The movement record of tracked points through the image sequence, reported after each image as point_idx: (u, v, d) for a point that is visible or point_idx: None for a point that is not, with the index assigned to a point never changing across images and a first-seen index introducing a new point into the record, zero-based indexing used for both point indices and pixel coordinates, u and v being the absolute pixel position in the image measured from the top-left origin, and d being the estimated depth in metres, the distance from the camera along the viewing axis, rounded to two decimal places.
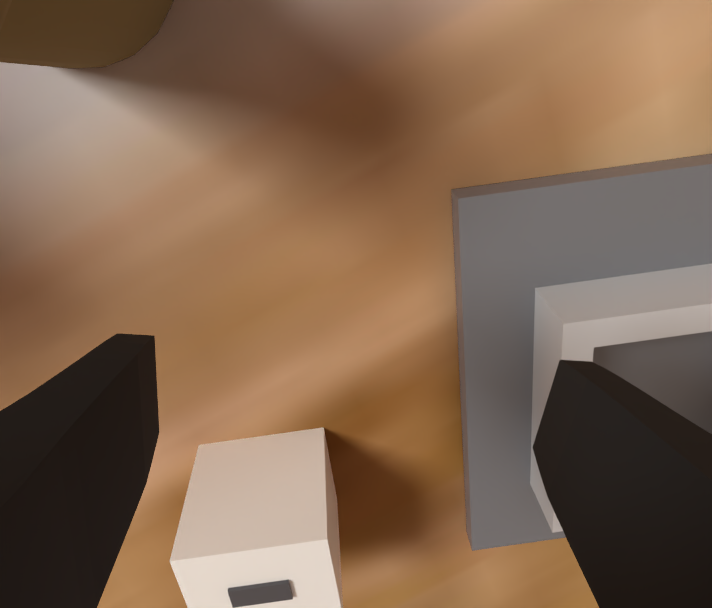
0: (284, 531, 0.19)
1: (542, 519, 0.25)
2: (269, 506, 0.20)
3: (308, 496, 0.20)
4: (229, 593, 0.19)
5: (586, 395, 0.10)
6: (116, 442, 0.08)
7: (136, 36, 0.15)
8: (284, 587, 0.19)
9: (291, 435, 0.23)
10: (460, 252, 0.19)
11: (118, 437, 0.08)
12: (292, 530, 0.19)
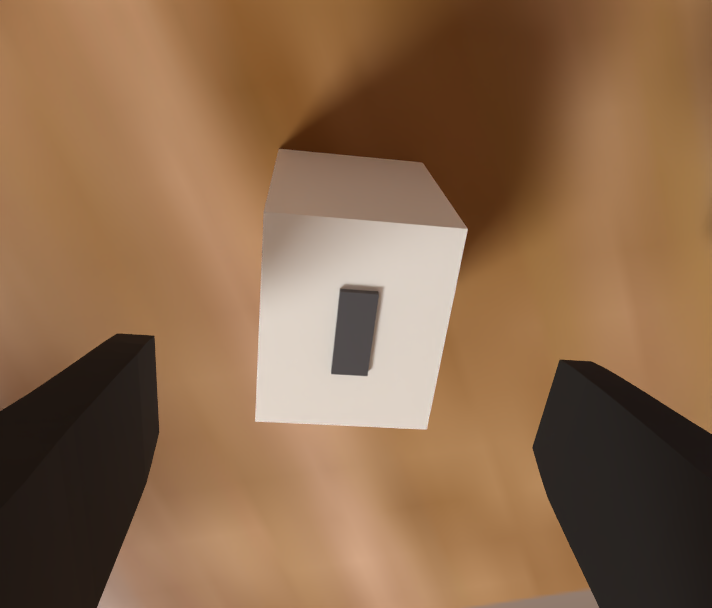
0: None
1: None
2: None
3: None
4: (335, 372, 0.13)
5: (586, 395, 0.10)
6: (116, 442, 0.08)
7: None
8: (347, 300, 0.12)
9: None
10: None
11: (118, 437, 0.08)
12: None
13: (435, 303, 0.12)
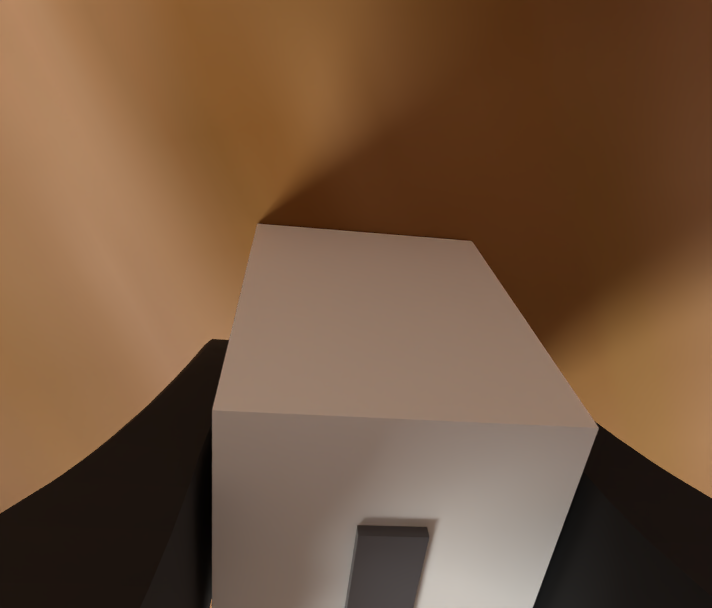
0: None
1: None
2: None
3: None
4: None
5: None
6: None
7: None
8: (372, 548, 0.07)
9: None
10: None
11: None
12: None
13: (527, 540, 0.07)
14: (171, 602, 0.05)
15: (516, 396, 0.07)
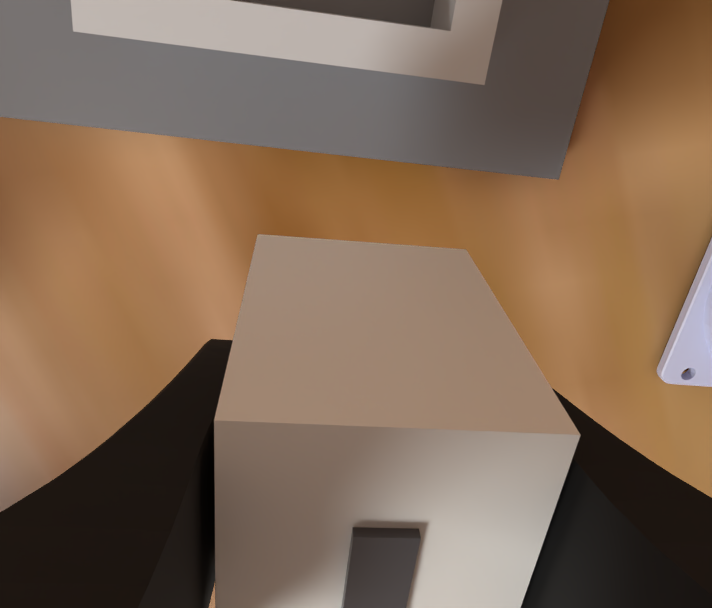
0: None
1: (544, 60, 0.16)
2: None
3: None
4: None
5: None
6: None
7: None
8: (366, 548, 0.07)
9: None
10: (50, 121, 0.16)
11: None
12: None
13: (515, 540, 0.07)
14: (170, 602, 0.05)
15: (502, 404, 0.07)
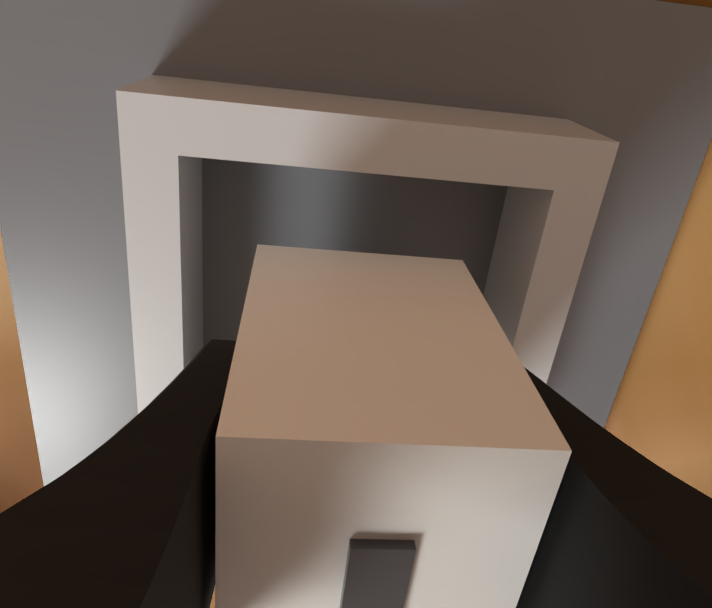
0: None
1: None
2: None
3: None
4: None
5: None
6: None
7: None
8: (364, 559, 0.07)
9: None
10: None
11: None
12: None
13: (507, 552, 0.07)
14: (171, 602, 0.05)
15: (497, 420, 0.07)
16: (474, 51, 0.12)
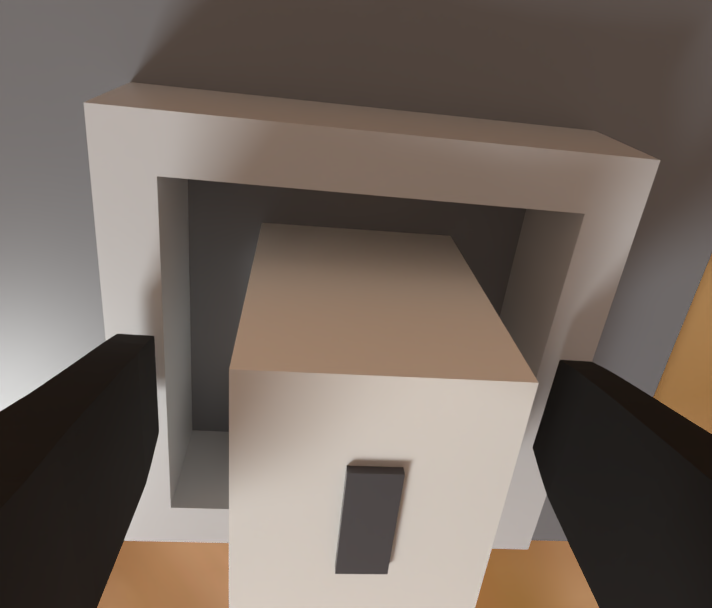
0: None
1: None
2: None
3: None
4: (342, 571, 0.09)
5: (586, 395, 0.10)
6: (115, 443, 0.08)
7: None
8: (358, 484, 0.08)
9: None
10: None
11: (118, 437, 0.08)
12: None
13: (486, 479, 0.08)
14: None
15: (474, 359, 0.08)
16: (492, 56, 0.11)
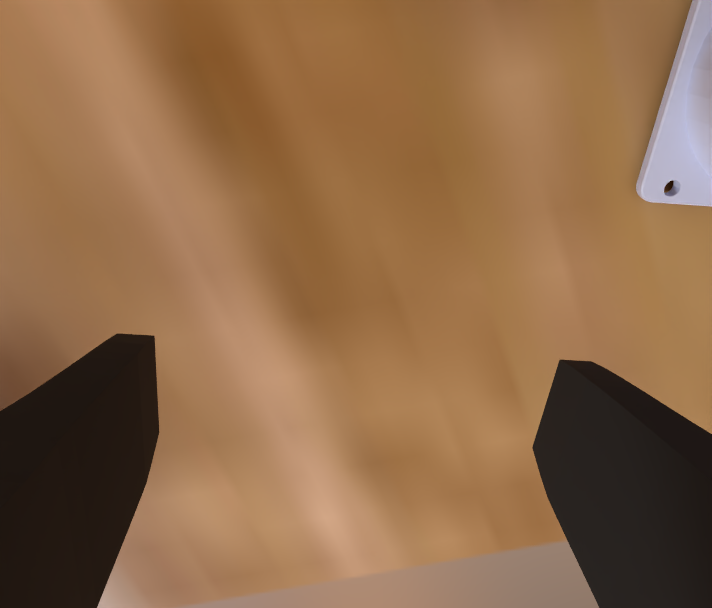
0: None
1: None
2: None
3: None
4: None
5: (586, 395, 0.10)
6: (115, 442, 0.08)
7: None
8: None
9: None
10: None
11: (118, 437, 0.08)
12: None
13: None
14: None
15: None
16: None
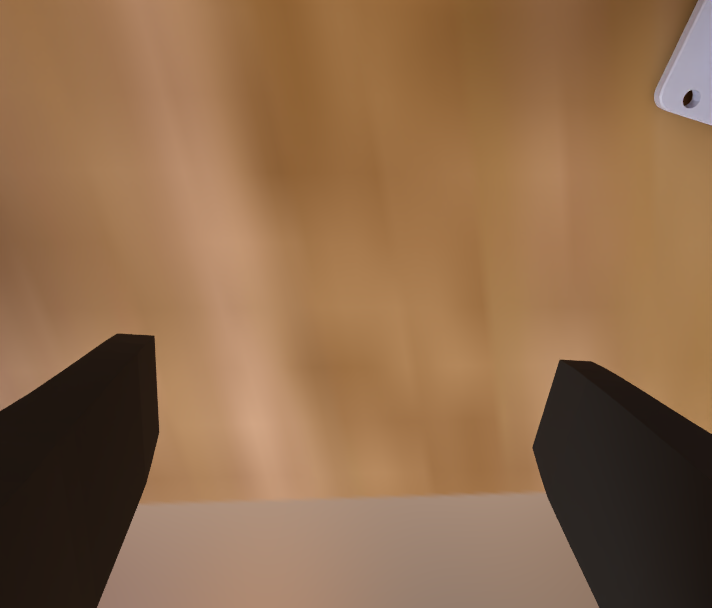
0: None
1: None
2: None
3: None
4: None
5: (586, 395, 0.10)
6: (116, 443, 0.08)
7: None
8: None
9: None
10: None
11: (118, 437, 0.08)
12: None
13: None
14: None
15: None
16: None
